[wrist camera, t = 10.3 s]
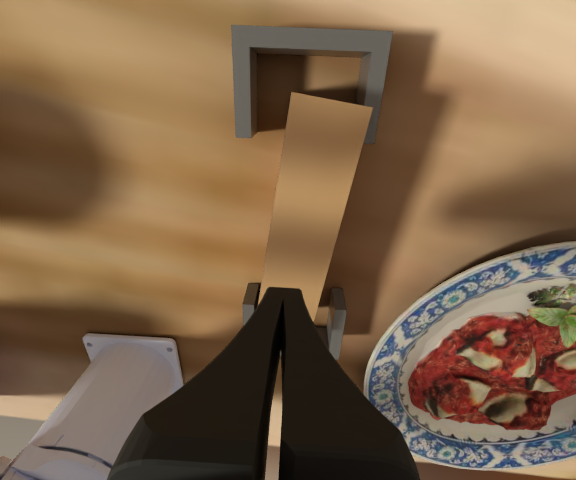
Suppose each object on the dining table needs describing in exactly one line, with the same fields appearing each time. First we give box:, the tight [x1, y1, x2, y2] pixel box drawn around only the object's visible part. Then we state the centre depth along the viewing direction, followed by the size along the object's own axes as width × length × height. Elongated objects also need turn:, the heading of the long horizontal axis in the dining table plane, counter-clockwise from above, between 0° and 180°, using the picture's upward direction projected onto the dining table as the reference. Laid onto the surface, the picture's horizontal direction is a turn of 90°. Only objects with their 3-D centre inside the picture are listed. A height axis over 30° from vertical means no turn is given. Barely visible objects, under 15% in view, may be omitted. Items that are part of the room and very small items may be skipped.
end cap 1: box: [231, 25, 393, 144], centre depth 15 cm, size 5×7×2 cm, turn 88°
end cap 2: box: [243, 283, 347, 360], centre depth 22 cm, size 5×7×2 cm, turn 88°
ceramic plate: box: [364, 241, 576, 470], centre depth 24 cm, size 26×26×3 cm
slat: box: [258, 92, 373, 322], centre depth 18 cm, size 15×4×5 cm, turn 170°
